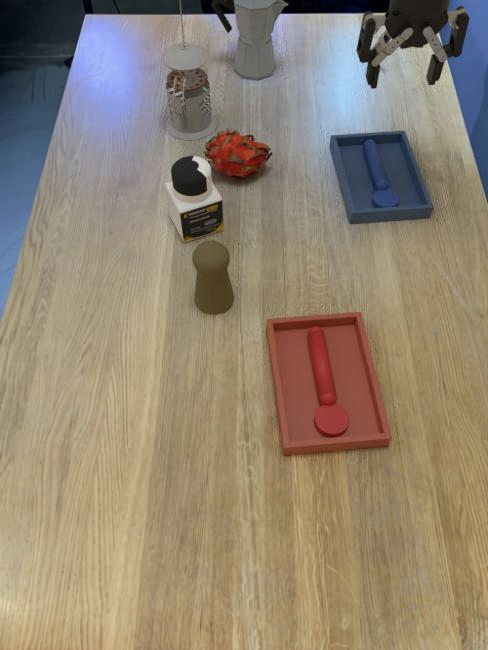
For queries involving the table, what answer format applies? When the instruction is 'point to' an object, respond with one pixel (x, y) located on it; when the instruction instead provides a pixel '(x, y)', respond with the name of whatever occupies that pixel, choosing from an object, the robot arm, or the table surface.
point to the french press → (188, 91)
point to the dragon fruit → (236, 154)
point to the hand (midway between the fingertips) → (401, 83)
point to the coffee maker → (252, 34)
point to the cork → (212, 278)
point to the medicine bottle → (194, 199)
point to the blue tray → (398, 170)
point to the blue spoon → (379, 178)
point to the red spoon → (325, 388)
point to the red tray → (349, 378)
